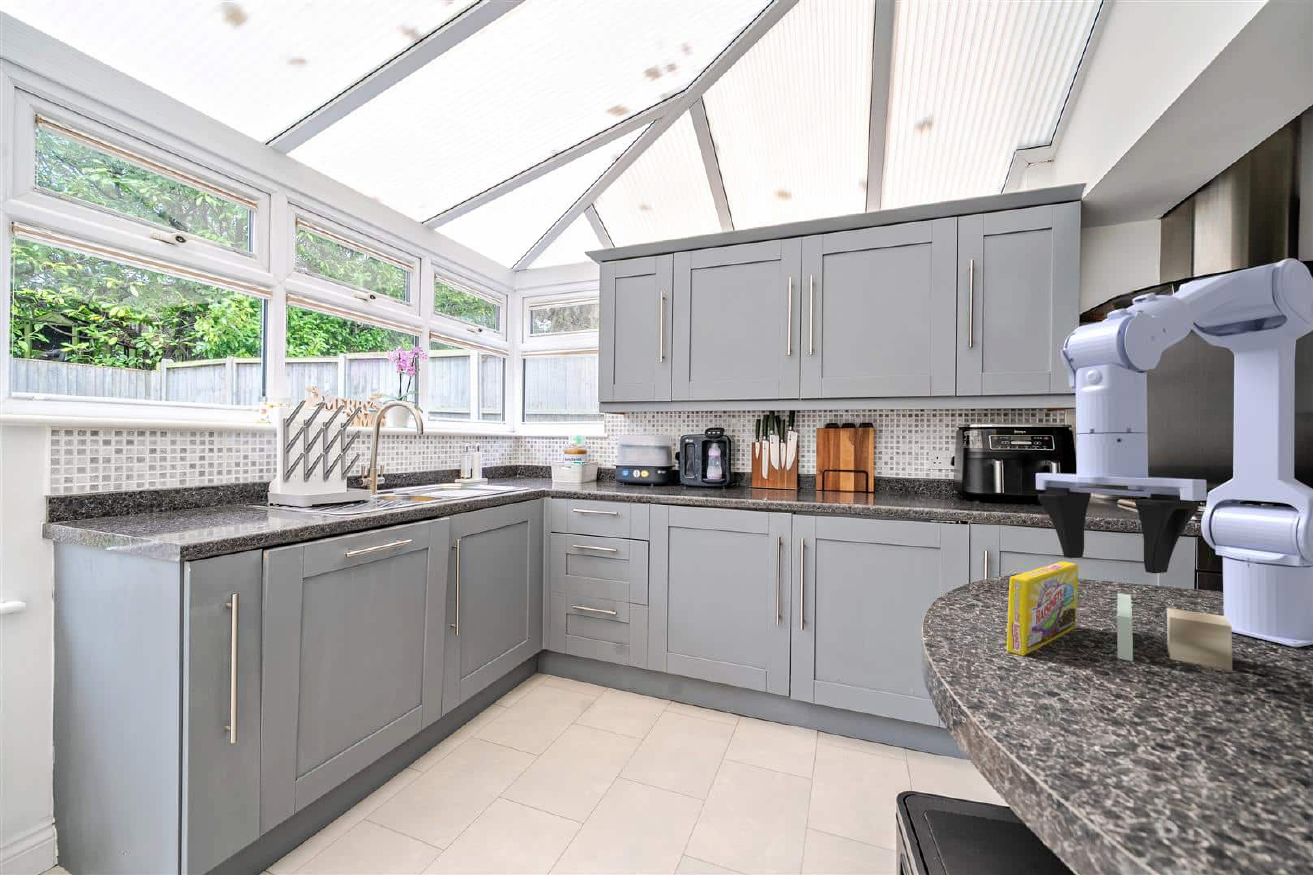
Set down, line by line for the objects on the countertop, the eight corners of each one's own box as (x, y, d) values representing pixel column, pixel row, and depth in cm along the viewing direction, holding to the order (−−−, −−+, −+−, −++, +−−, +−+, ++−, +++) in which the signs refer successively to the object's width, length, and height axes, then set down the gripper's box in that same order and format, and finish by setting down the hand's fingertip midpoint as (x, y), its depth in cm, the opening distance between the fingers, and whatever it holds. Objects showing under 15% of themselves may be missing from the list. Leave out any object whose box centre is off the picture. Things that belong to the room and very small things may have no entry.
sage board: (1131, 632, 65) (1130, 594, 65) (1132, 661, 56) (1132, 617, 56) (1118, 630, 66) (1117, 593, 66) (1117, 658, 57) (1117, 615, 57)
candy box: (1027, 658, 57) (1027, 580, 57) (1005, 652, 58) (1004, 576, 58) (1079, 629, 66) (1078, 562, 66) (1058, 625, 68) (1058, 559, 68)
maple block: (1225, 658, 57) (1224, 616, 57) (1232, 671, 54) (1231, 626, 54) (1167, 647, 60) (1166, 607, 60) (1170, 659, 57) (1169, 616, 57)
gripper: (1016, 435, 62) (1017, 553, 61) (1171, 431, 48) (1174, 583, 48) (1059, 436, 64) (1060, 550, 64) (1219, 432, 50) (1221, 577, 50)
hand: (1112, 564), depth 56 cm, fingers open, 7 cm apart
